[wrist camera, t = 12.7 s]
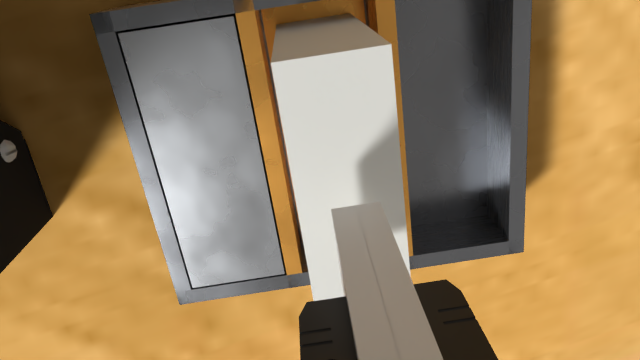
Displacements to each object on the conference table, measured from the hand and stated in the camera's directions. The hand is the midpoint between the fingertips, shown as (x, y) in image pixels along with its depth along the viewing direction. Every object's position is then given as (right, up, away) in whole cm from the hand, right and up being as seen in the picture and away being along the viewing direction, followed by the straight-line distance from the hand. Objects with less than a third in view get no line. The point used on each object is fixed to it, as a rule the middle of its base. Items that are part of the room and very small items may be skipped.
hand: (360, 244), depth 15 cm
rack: (-1, +5, +11) cm, 13 cm away
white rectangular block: (-1, +5, +10) cm, 11 cm away
